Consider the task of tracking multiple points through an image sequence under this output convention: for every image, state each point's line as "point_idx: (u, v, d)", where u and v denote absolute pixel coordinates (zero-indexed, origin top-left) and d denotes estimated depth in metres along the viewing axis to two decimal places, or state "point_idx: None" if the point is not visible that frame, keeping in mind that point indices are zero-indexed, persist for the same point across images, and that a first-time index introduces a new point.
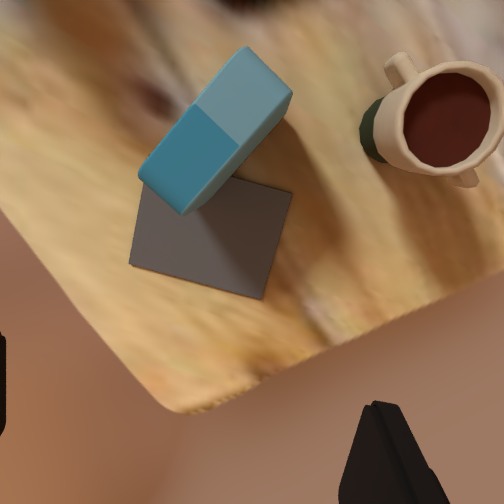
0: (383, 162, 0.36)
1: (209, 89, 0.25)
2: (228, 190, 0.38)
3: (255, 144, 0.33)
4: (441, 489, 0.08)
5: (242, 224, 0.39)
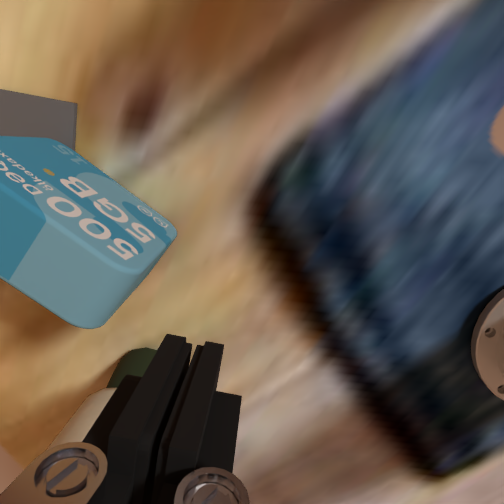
0: None
1: (67, 239, 0.19)
2: None
3: None
4: (238, 409, 0.09)
5: None
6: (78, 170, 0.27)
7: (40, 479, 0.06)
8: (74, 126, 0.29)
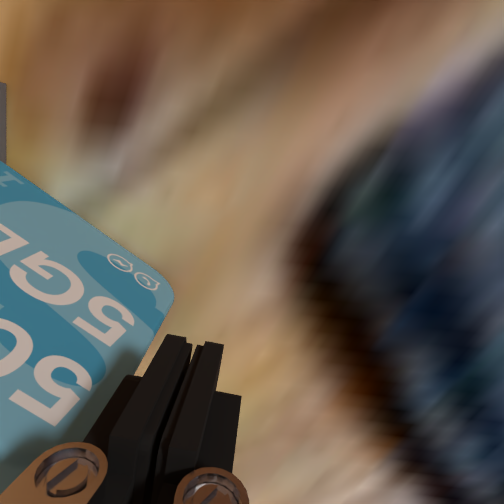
0: None
1: None
2: None
3: None
4: (238, 409, 0.09)
5: None
6: None
7: (40, 479, 0.06)
8: (2, 121, 0.17)
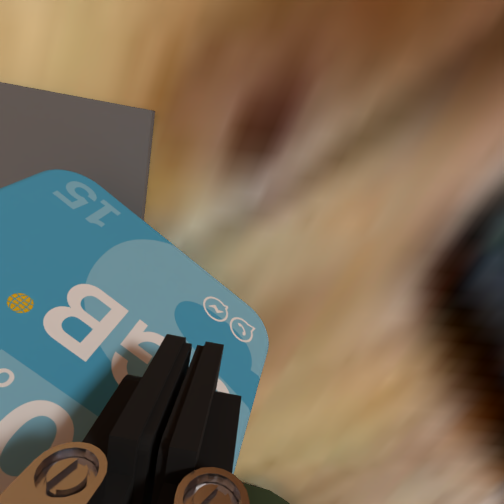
0: None
1: None
2: None
3: None
4: (238, 409, 0.09)
5: None
6: (97, 249, 0.14)
7: (40, 479, 0.06)
8: (149, 149, 0.17)
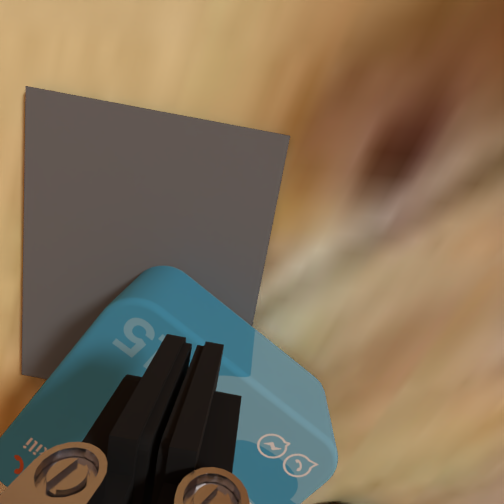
0: None
1: None
2: (227, 305, 0.19)
3: None
4: (238, 409, 0.09)
5: None
6: None
7: (40, 479, 0.06)
8: (282, 173, 0.17)
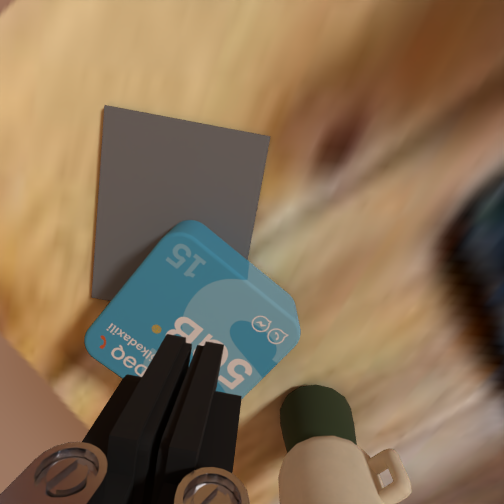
0: (280, 412, 0.33)
1: None
2: (231, 246, 0.29)
3: None
4: (238, 409, 0.09)
5: None
6: (189, 294, 0.26)
7: (40, 479, 0.06)
8: (265, 160, 0.28)
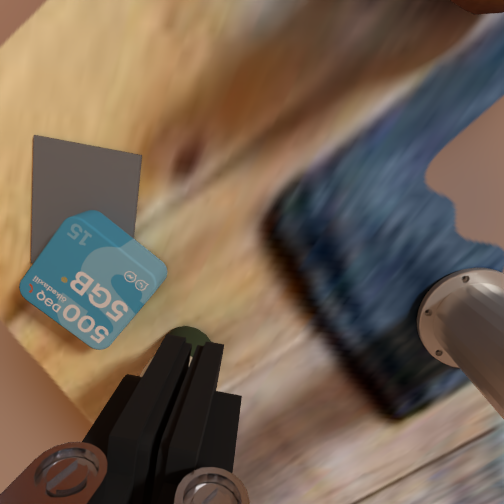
0: None
1: (74, 334, 0.43)
2: (121, 228, 0.44)
3: None
4: (238, 409, 0.09)
5: None
6: (83, 256, 0.40)
7: (40, 479, 0.06)
8: (139, 170, 0.42)
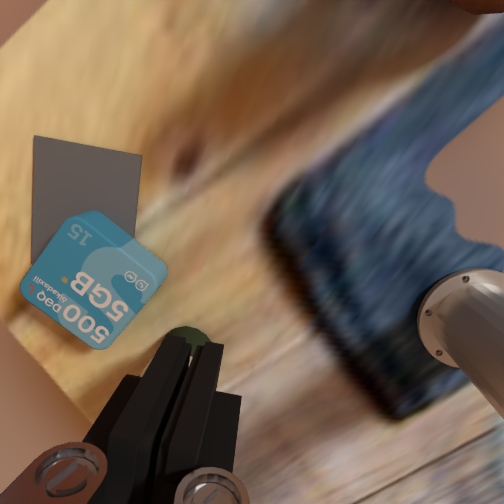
0: None
1: None
2: (121, 228, 0.44)
3: None
4: (238, 409, 0.09)
5: None
6: (83, 257, 0.40)
7: (40, 479, 0.06)
8: (139, 171, 0.42)
